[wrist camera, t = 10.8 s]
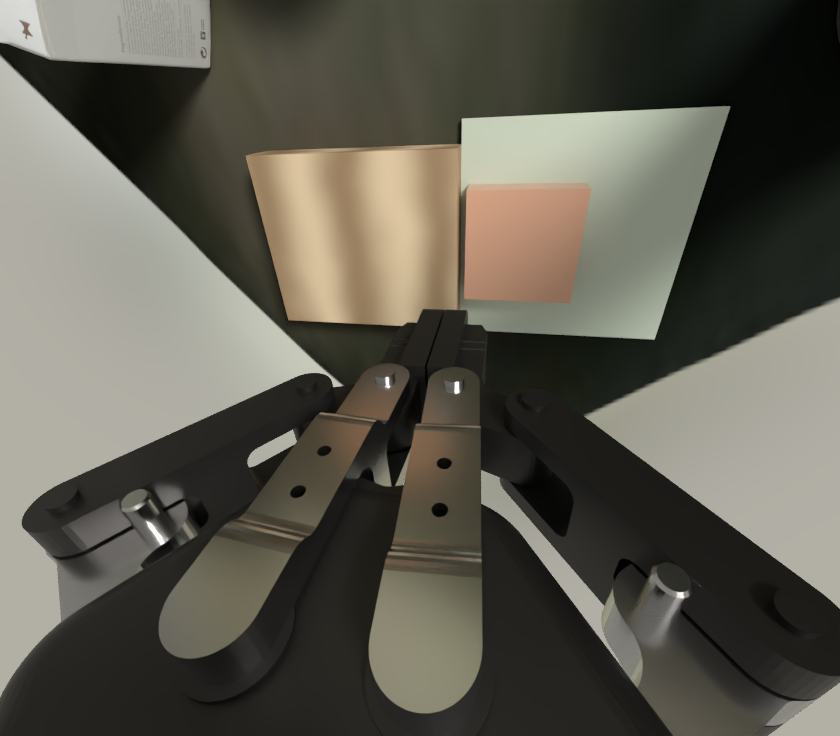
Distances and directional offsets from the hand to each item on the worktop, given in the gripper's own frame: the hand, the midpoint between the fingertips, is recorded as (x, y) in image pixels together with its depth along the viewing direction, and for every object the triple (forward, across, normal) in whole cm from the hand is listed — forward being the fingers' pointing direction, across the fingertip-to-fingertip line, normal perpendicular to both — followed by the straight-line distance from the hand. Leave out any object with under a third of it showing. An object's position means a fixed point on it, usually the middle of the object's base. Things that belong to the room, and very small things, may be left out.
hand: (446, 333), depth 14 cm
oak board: (+20, +9, +2) cm, 22 cm away
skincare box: (+20, +22, -12) cm, 32 cm away
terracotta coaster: (+18, -3, +3) cm, 19 cm away
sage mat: (+20, -6, +3) cm, 21 cm away
